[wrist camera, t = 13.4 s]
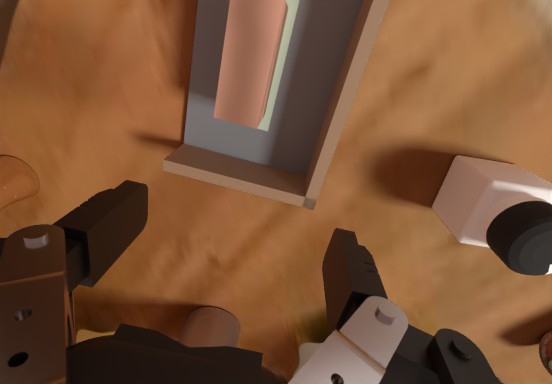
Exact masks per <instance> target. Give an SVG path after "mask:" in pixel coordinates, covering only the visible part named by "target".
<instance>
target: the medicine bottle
mask: <svg viewBox="0 0 552 384" xmlns="http://www.w3.org/2000/svg"><path fill="white" fill-rule="evenodd" d="M432 209H433V210H434V212H435V213H436V214H437V215H438V217H439V218H440V219H441V220H442V222H443V223H444V224H445V225H446V227H447V228H448V229H449V230H450V232H451V233H452V234H453V236H454V237H455V238H456V239H457V241H458V242H460V243H466V244H472V245H478V246H484V247H489V248H491V249H492V250H493V251H494V253H495V254H496V255H497V256H498V257H499V258H500V259H501V260H502V261H503V262H504V263H505V264H506V266H507V267H509V268H510V269H511V270H513V271H515V272H517V273H520V274H525V275H546V274H550V273H552V184H551V183H549V182H548V181H546V180H544V179H542V178H540V177H539V176H537V175H535V174H533V173H531V172H530V171H528V170H526V169H524V168H522V167H521V166H519V165H515V164H509V163H503V162H497V161H491V160H485V159H479V158H473V157H467V156H461V155H457V156H456V157H455V158H454V160H453V162H452V164H451V167H450V169H449V171H448V173H447V175H446V177H445V180H444V182H443V184H442V186H441V188H440V190H439V192H438V195H437V197H436V199H435V201H434V203H433V205H432Z"/></svg>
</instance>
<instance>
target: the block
mask: <svg viewBox="0 0 552 384" xmlns="http://www.w3.org/2000/svg"><path fill="white" fill-rule="evenodd" d="M288 10H289V8H288V5H287V3H286V0H230V3H229V11H228V18H227V25H226V32H225V39H224V46H223V53H222V61H221V68H220V75H219V82H218V89H217V96H216V103H215V110H214V118H218V119H221V120H225V121H229V122H233V123H236V124H240V125H244V126H248V127H251V128H255V129H257V128H258V126H259V124H260V123H261V121H262V119H263V117H264V115H265V112H266V108H267V103H268V99H269V94H270V90H271V86H272V81H273V77H274V72H275V68H276V63H277V59H278V54H279V50H280V45H281V41H282V37H283V32H284V28H285V23H286V19H287V14H288Z"/></svg>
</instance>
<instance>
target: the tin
mask: <svg viewBox="0 0 552 384" xmlns="http://www.w3.org/2000/svg"><path fill="white" fill-rule="evenodd" d="M539 355H540V359H541V361H542V363H543V365H544V367H545V368H546V370H547V371H548V372H549V373H550V374H551V375H552V330H550V331H549V332H547V333H546V334H545V335H544V336H543V338H542V339H541V341H540V344H539Z"/></svg>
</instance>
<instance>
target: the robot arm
mask: <svg viewBox="0 0 552 384" xmlns="http://www.w3.org/2000/svg"><path fill="white" fill-rule="evenodd" d="M147 216H148V187H147V185H146V184H143V183H138V182H134V181H129V180H126V181H124V182H123V183H122V184H120V185H119V186H118V187H116V188H115V189H108V190H105V191H102V192H99V193H97V194H95V195H94V196H92V197H91V198H90V199H88V201H85V202H84V203H82V204H81V205H80V207H77V208H75V209H74V210H72V211H71V212H69V213H68V214H67V215H65V216H64V217H62V218H61V219H59V220H58V221H57V222H55V223H54V224H52V225H50V224H38V225H32V226H27V227H24V228H21V229H19V230H17V231H15V232H13V233H12V234H10V235H9V236H8V237H7V238H0V384H285V383H284V382H283V381H282V380H281V379H280V378H279V377H278V376H277V375H276V374H275V373H273V372H272V371H270V370H269V369H267V368H266V367H264V366H262V365H261V363H262V355H263V353H259V352H255V351H250V350H245V349H240V348H236V347H237V342H238V338H239V333H240V325H239V323H238V321H237V320H236V318H235V317H234V316H233V315H231V314H230V313H228V312H226V311H224V310H222V309H219V308H214V307H202V308H198V309H195V310H194V311H192V312H191V313H190V314H189V316H188V318H187V320H186V322H185V325H184V327H183V329H182V332H181V334H180V336H179V338H178V341H175V340H173V339H171V338H169V337H167V336H165V335H163V334H162V333H160V332H158V331H155V330H150V329H145V328H140V327H136V326H131V325H126V324H120V326H119V327H118V329H117V331H116V332H115V334H114V335H108V336H101V337H96V338H92V339H88V340H85V341H82V342H79V343H76V333H75V314H74V296H73V290H74V289H75V288H76V287H77V286H78V285H84V286H88V287H93V286H94V285H95V284H96V283H97V282H98V280H99V279H100V278H101V277H102V276H103V275H104V274H105V272H106V271H107V270H108V269H109V268H110V267H111V266H112V265H113V263H114V262H115V261H116V260H117V259H118V258H119V257H120V255H121V254H122V253H123V252H124V251H125V250H126V249H127V247H128V246H129V245H130V244H131V243H132V242H133V241H134V240H135V238H136V237H137V236H138V235H139V234H140V233H141V232H142V230H143V229H144V227H145V225H146V222H147ZM322 272H323V281H324V290H325V299H326V308H327V318H328V327H329V337H328V338H327V339H326V340H325V342H324V343H323V344H322V345H321V346H320V347H319V348H318V350H317V351H316V352H315V353H314V354H313V355H312V357H311V358H310V359H309V360H308V361H307V362H306V363H305V365H304V366H303V367H302V368H301V369H300V370H299V371H298V373H297V374H296V375H295V376H294V377H293V378H292V379H291V381H290V382H289V383H288V384H500V383H499V381H498V380H497V378H496V376H495V374H494V372H493V371H492V369H491V367H490V365H489V363H488V362H487V360H486V358H485V356H484V355H483V353H482V352H481V350H480V349H479V348H478V347H477V346H476V345H475V344H474V343H473V342H472V341H471V340H470V339H468V338H467V337H466V336H464V335H463V334H461V333H459V332H457V331H454V330H451V329H440V330H438V331H437V333H436V334H435V336H432V335H430V334H428V333H425V332H423V331H421V330H419V329H417V328H415V327H413V326H411V325H409V324H408V320H407V318H406V316H405V314H404V313H403V311H402V310H401V309H400V308H399V307H398V306H397V305H396V304H394V303H393V302H391V301H390V300H388V298H387V295H386V292H385V290H384V287H383V284H382V281H381V279H380V276H379V274H378V270H377V268H376V266H375V262H374V259H373V257H372V255H371V254H370V252H369V251H368V250H367V249H366V248H365V246H361V245H358V242H357V239H356V235H355V233H354V232H352V231H348V230H344V229H339V228H336V229H335V230H334V232H333V235H332V238H331V240H330V243H329V246H328V248H327V251H326V254H325V256H324V260H323V266H322Z"/></svg>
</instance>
